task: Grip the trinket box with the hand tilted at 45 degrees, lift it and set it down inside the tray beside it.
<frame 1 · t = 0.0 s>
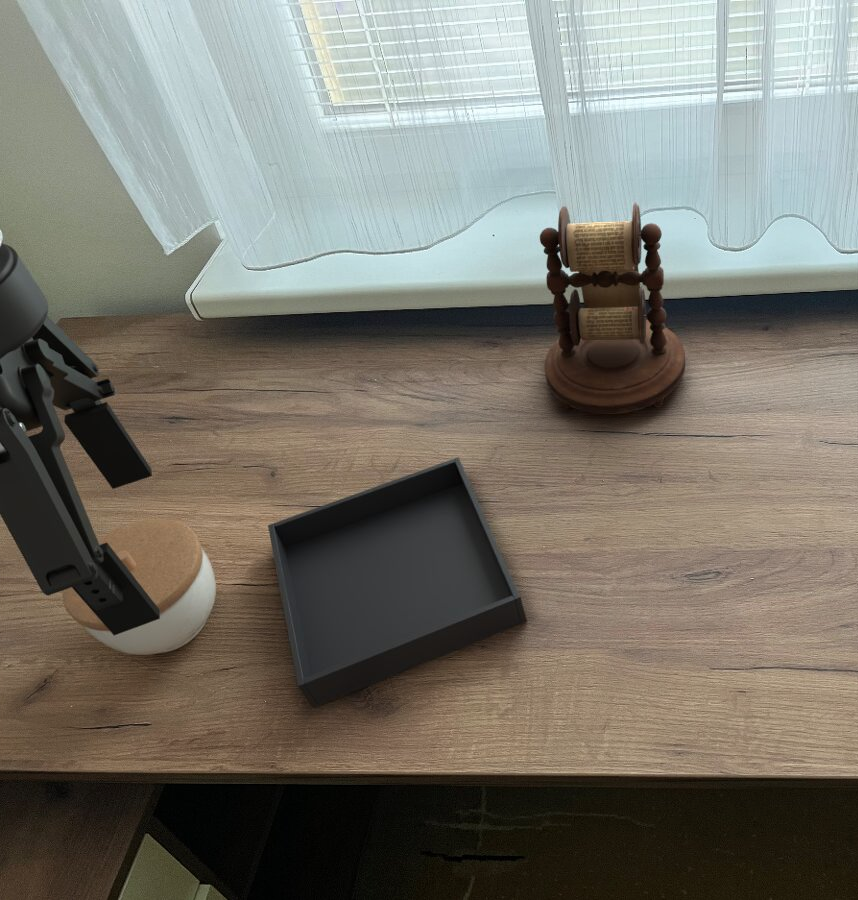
hand: (134, 545, 58), 18 cm above the table, tool pointing down, fingers open, 13 cm apart
scroll: (616, 379, 93), on the table
tray: (397, 583, 76), on the table
trinket box: (174, 623, 76), on the table
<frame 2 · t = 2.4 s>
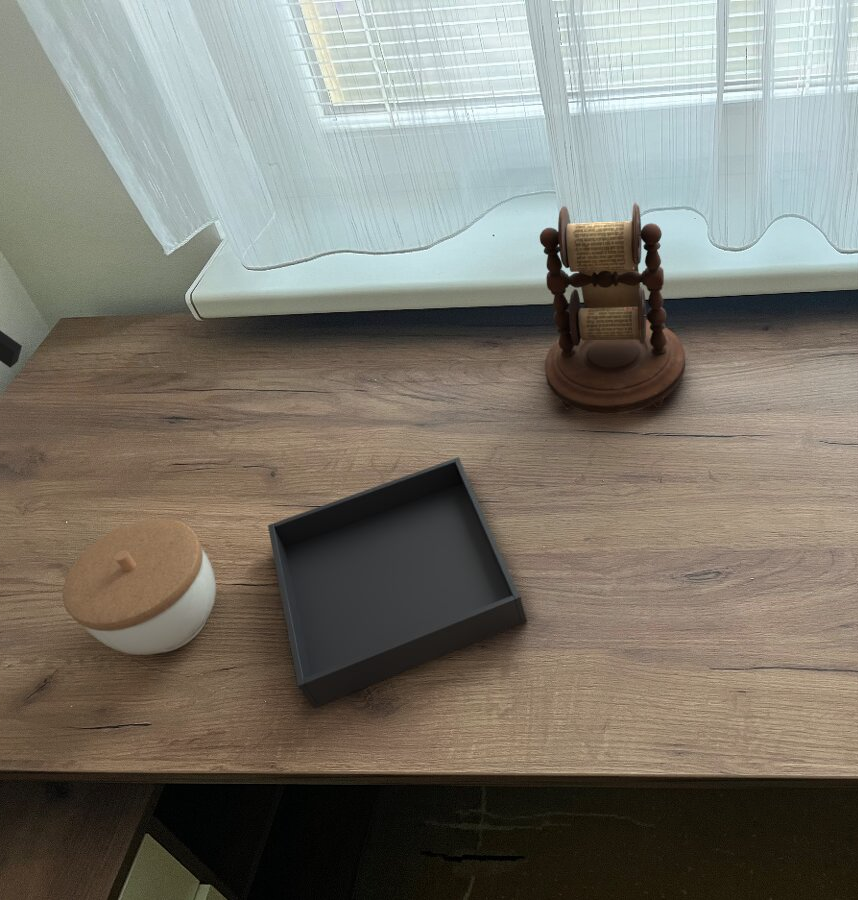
nothing on the table moved.
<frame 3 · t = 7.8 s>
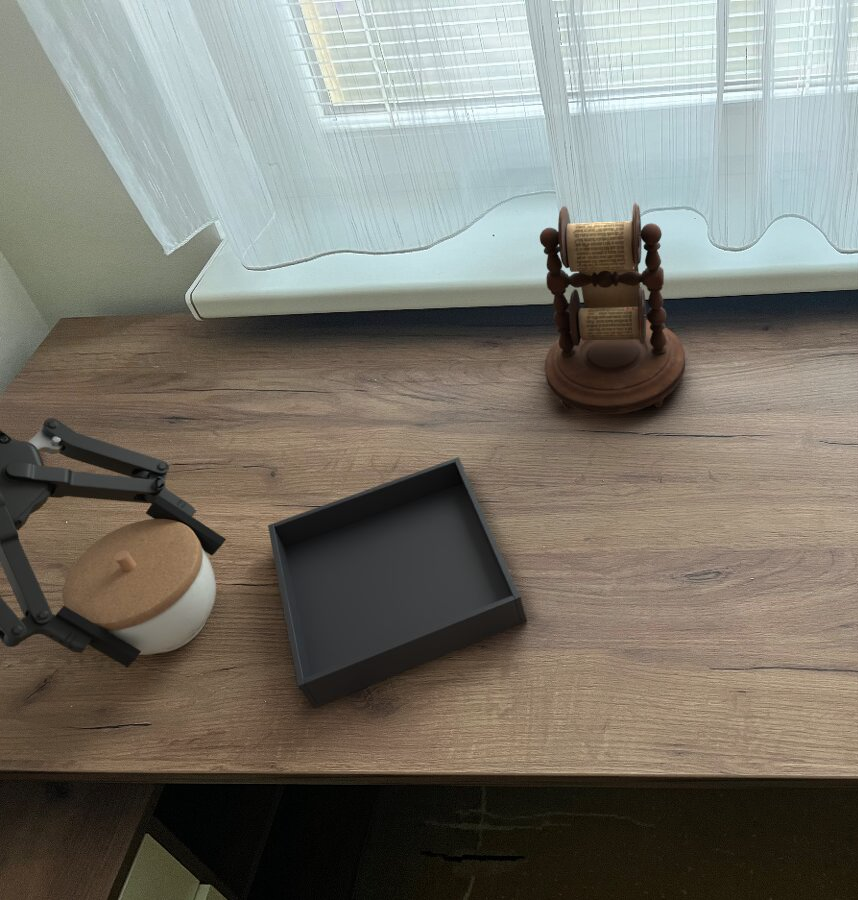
hand: (179, 600, 72), 4 cm above the table, tool tilted 45°, fingers closed on trinket box, 11 cm apart
trinket box: (174, 623, 76), on the table, touching gripper
everything else where it was.
when the fingers open (5 cm above the table, at t = 17.9 s): trinket box stays where it is, resting on tray.
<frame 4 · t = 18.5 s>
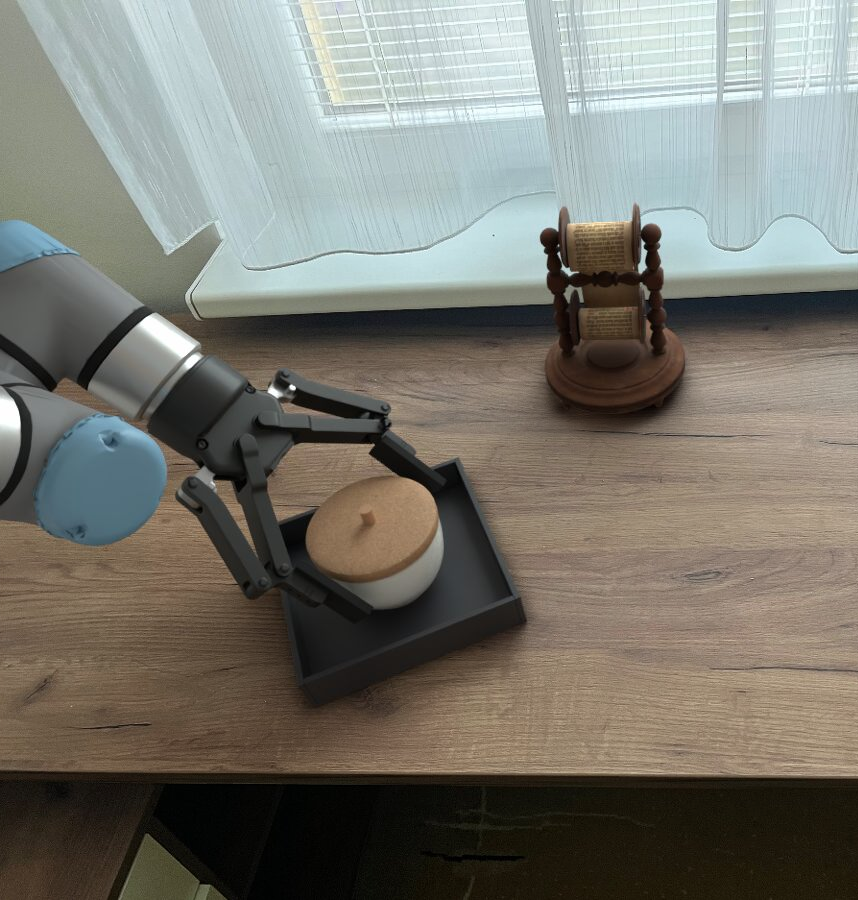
hand: (403, 548, 72), 5 cm above the table, tool tilted 45°, fingers open, 13 cm apart
trinket box: (396, 581, 76), resting on tray
everything else where it was.
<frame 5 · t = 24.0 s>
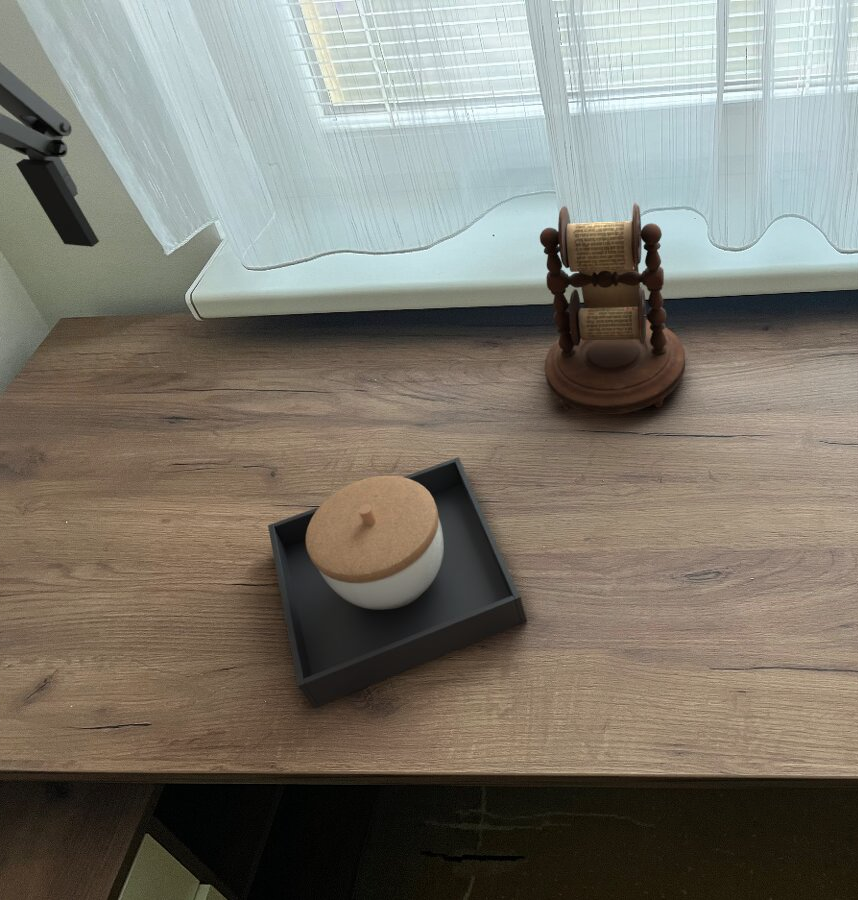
hand: (16, 295, 62), 29 cm above the table, tool pointing down, fingers open, 13 cm apart
nothing on the table moved.
at the end: trinket box inside the target area in the tray (0.0 cm from its centre), point 0.2 cm above the tray's base; trinket box tilted 0°; the gripper is holding nothing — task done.
